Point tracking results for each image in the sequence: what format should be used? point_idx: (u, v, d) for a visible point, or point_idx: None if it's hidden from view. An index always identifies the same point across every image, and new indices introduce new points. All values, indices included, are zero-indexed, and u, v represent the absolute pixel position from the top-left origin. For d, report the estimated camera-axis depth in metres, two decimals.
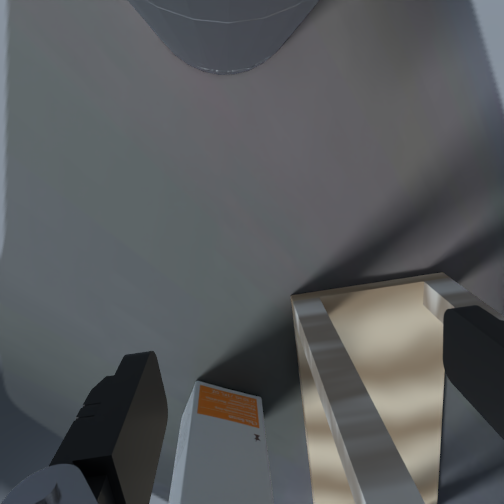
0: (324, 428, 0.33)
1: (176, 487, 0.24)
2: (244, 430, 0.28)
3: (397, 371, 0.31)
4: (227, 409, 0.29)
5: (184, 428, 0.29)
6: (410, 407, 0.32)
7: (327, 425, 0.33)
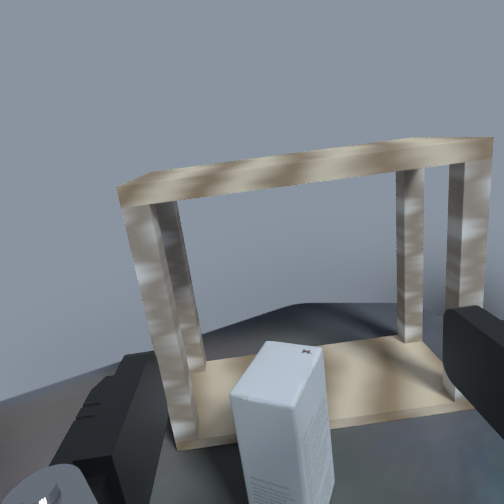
0: None
1: (262, 448, 0.22)
2: None
3: None
4: None
5: None
6: None
7: None
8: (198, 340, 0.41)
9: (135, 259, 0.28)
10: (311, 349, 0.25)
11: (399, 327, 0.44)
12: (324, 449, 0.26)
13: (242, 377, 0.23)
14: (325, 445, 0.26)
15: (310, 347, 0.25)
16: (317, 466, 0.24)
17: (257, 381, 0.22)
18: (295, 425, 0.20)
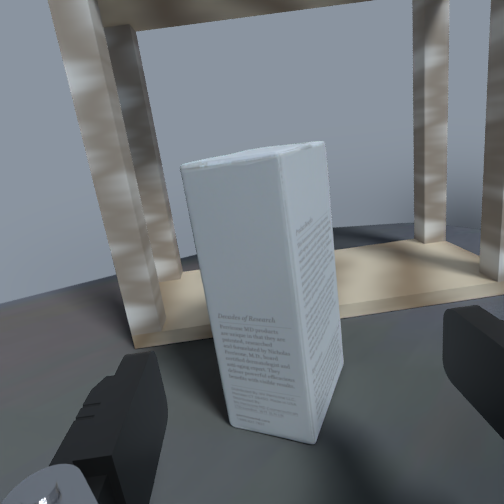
0: None
1: (234, 254, 0.14)
2: None
3: None
4: None
5: (258, 370, 0.15)
6: None
7: None
8: (170, 237, 0.34)
9: (64, 54, 0.20)
10: (309, 142, 0.17)
11: (417, 227, 0.36)
12: (329, 295, 0.18)
13: (204, 159, 0.15)
14: (330, 291, 0.18)
15: (307, 142, 0.17)
16: (319, 305, 0.16)
17: (225, 156, 0.14)
18: (283, 190, 0.12)
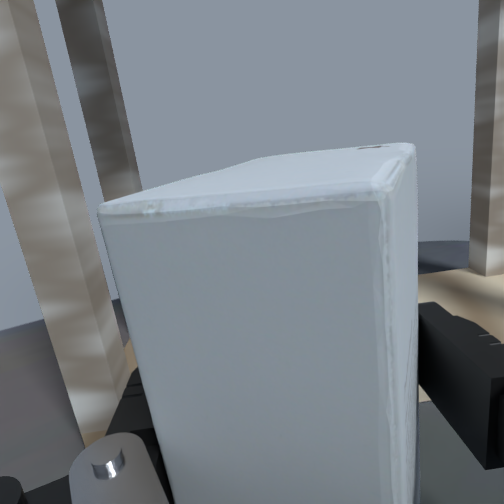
0: None
1: (235, 429, 0.06)
2: None
3: None
4: None
5: None
6: None
7: None
8: None
9: None
10: (385, 144, 0.08)
11: (473, 253, 0.28)
12: (416, 439, 0.09)
13: (166, 184, 0.07)
14: (417, 428, 0.09)
15: (379, 145, 0.09)
16: (414, 490, 0.08)
17: (215, 179, 0.06)
18: (388, 299, 0.04)
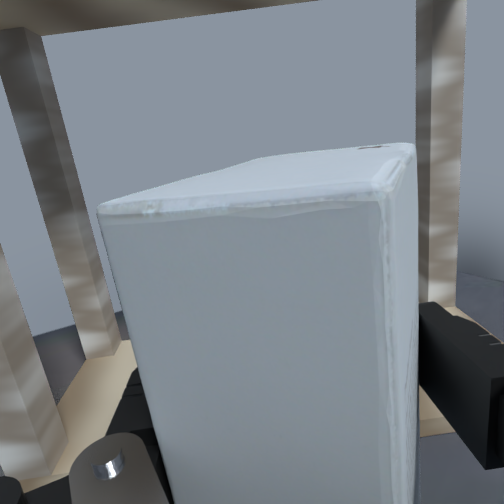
0: None
1: (234, 429, 0.06)
2: None
3: None
4: None
5: None
6: None
7: None
8: (98, 305, 0.26)
9: None
10: (385, 145, 0.08)
11: (418, 286, 0.28)
12: (417, 439, 0.09)
13: (166, 184, 0.07)
14: (417, 428, 0.09)
15: (379, 145, 0.09)
16: (415, 490, 0.08)
17: (215, 179, 0.06)
18: (388, 300, 0.04)
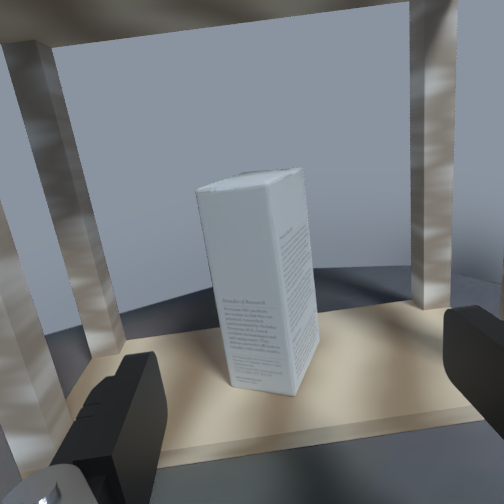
0: (276, 411, 0.20)
1: (235, 254, 0.19)
2: None
3: (196, 357, 0.26)
4: None
5: (252, 341, 0.21)
6: None
7: (270, 409, 0.20)
8: (104, 305, 0.27)
9: None
10: (291, 168, 0.22)
11: (414, 287, 0.29)
12: (307, 286, 0.23)
13: None
14: (308, 283, 0.23)
15: (289, 168, 0.22)
16: (298, 292, 0.21)
17: (228, 182, 0.20)
18: (270, 209, 0.18)
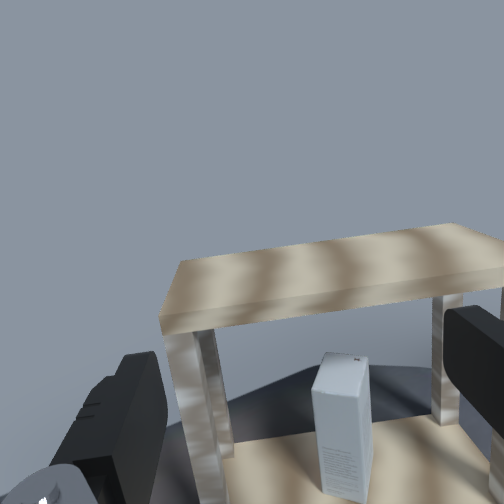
0: None
1: (333, 426, 0.32)
2: None
3: (290, 464, 0.39)
4: None
5: (340, 471, 0.34)
6: None
7: None
8: (228, 427, 0.40)
9: (176, 384, 0.27)
10: (360, 358, 0.35)
11: (433, 408, 0.43)
12: (369, 428, 0.36)
13: (317, 378, 0.33)
14: (369, 425, 0.36)
15: (359, 356, 0.36)
16: (367, 439, 0.35)
17: (328, 381, 0.33)
18: (358, 408, 0.31)
